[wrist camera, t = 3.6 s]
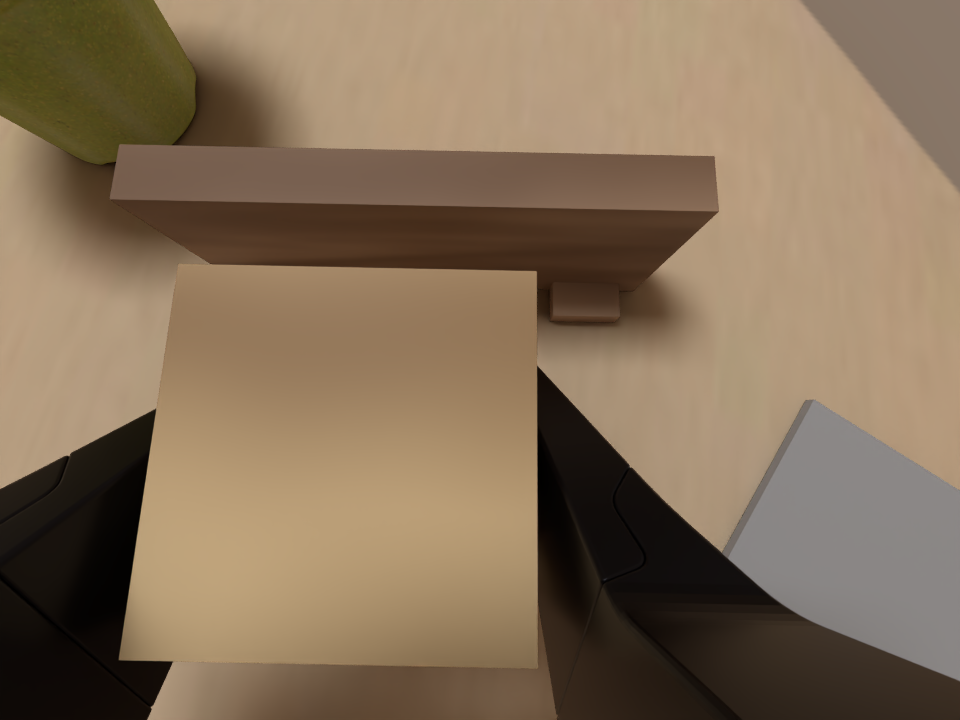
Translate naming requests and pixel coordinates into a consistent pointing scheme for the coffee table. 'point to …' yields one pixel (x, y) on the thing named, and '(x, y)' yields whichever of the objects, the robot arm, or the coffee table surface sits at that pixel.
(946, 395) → the coffee table surface
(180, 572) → the letter block
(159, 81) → the plant pot
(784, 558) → the felt mat
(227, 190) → the walnut screen
